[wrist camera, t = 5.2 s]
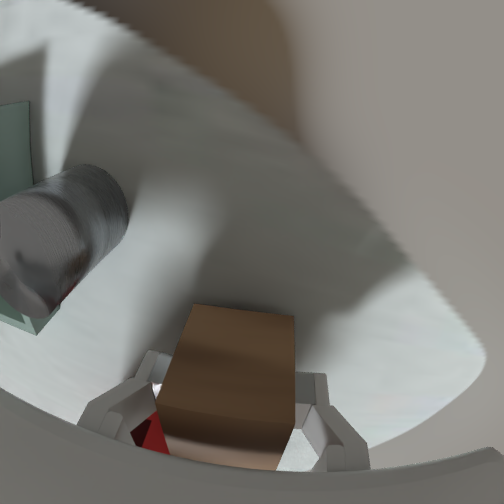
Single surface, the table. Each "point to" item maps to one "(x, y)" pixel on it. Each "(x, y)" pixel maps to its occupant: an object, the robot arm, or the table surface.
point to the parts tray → (16, 189)
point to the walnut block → (230, 388)
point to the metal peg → (57, 236)
